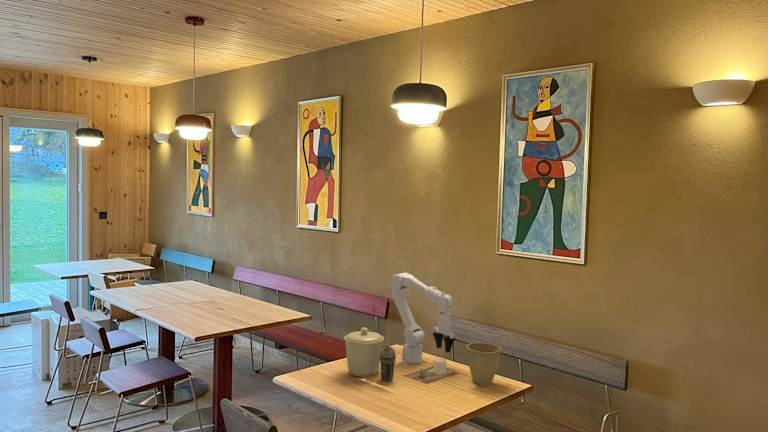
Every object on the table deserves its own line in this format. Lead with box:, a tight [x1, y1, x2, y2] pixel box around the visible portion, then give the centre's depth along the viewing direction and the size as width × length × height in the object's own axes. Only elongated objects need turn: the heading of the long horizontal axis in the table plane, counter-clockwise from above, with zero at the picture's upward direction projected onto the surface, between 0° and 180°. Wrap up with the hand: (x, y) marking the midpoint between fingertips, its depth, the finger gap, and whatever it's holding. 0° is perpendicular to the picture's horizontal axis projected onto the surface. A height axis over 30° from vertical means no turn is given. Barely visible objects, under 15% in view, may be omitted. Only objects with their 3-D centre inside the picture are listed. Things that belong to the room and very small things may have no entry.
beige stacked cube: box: [432, 358, 448, 373], centre depth 253 cm, size 5×5×5 cm
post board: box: [403, 366, 459, 385], centre depth 249 cm, size 14×22×5 cm, turn 135°
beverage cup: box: [379, 336, 397, 383], centre depth 240 cm, size 7×7×20 cm
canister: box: [343, 326, 385, 378], centre depth 250 cm, size 18×18×21 cm
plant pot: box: [466, 342, 502, 387], centre depth 242 cm, size 15×15×16 cm
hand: (443, 349), depth 259 cm, fingers open, 7 cm apart
